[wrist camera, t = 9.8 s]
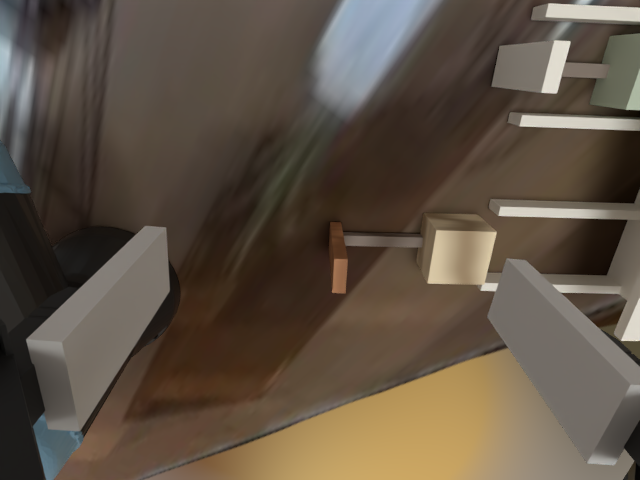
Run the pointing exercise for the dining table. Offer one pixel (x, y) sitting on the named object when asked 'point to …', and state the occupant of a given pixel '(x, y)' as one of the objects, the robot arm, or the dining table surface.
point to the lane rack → (636, 241)
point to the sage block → (573, 70)
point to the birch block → (426, 248)
